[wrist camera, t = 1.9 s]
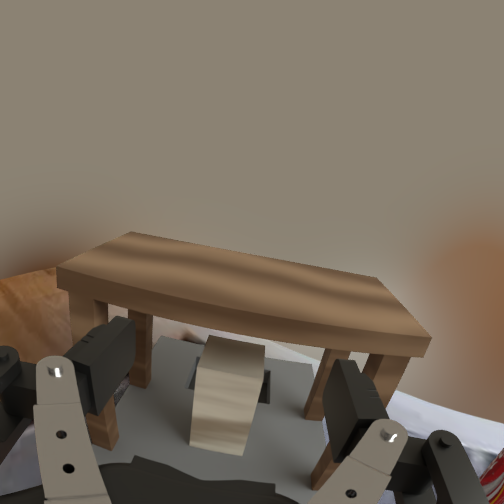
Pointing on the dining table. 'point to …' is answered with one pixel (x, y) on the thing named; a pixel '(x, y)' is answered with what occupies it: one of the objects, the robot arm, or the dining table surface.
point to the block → (226, 394)
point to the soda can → (494, 480)
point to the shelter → (240, 312)
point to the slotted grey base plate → (211, 462)
